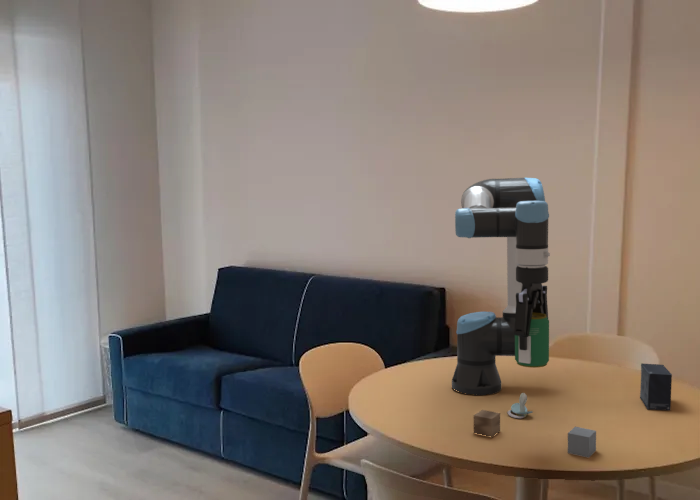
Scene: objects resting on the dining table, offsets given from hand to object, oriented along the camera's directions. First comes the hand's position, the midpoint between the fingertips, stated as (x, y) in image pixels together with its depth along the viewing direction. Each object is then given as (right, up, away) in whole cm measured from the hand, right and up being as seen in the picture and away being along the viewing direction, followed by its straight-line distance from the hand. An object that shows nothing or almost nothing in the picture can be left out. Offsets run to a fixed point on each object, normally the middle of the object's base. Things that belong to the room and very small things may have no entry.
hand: (531, 358), depth 169 cm
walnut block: (-9, -21, +9) cm, 24 cm away
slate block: (+11, -22, -4) cm, 24 cm away
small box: (+42, -17, +27) cm, 53 cm away
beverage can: (0, -1, 0) cm, 1 cm away
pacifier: (+2, -19, +22) cm, 29 cm away
